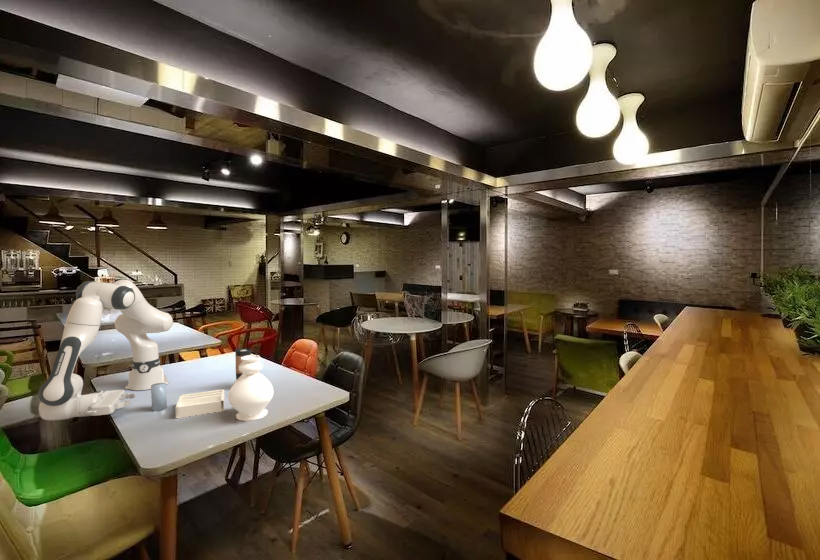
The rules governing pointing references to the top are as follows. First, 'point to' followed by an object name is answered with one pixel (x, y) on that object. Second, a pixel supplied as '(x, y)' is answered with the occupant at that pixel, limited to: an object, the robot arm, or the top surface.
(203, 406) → the compartment tray
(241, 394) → the decorative vase
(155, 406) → the grey cylinder
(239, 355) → the travel mug
